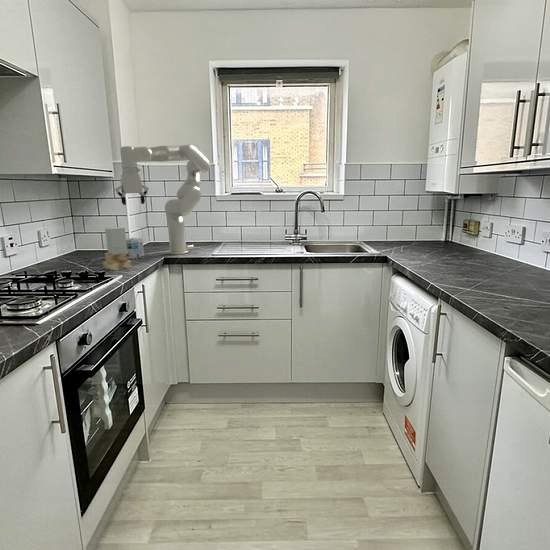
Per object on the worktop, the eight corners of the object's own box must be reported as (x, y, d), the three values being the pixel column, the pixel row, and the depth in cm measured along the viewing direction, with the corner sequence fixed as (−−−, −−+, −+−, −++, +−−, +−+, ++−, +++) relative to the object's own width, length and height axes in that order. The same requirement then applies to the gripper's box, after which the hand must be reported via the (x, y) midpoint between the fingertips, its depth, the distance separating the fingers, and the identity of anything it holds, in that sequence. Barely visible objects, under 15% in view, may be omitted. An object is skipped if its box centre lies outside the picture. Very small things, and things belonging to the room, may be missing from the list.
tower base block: (122, 265, 201) (121, 258, 200) (132, 268, 195) (131, 260, 194) (103, 269, 194) (102, 261, 193) (113, 272, 187) (112, 264, 186)
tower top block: (124, 258, 199) (123, 251, 198) (127, 261, 192) (126, 253, 191) (105, 260, 195) (104, 253, 194) (108, 263, 187) (107, 255, 186)
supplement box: (128, 253, 192) (125, 227, 190) (113, 255, 188) (109, 229, 185) (122, 251, 198) (119, 226, 195) (107, 253, 193) (104, 228, 190)
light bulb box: (134, 259, 215) (132, 240, 213) (123, 259, 217) (121, 240, 214) (144, 255, 225) (142, 237, 223) (134, 255, 227) (132, 237, 224)
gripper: (144, 171, 211) (147, 203, 215) (111, 171, 201) (115, 204, 205) (148, 171, 205) (152, 203, 209) (115, 171, 195) (119, 205, 199)
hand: (133, 204), depth 207 cm, fingers open, 9 cm apart
